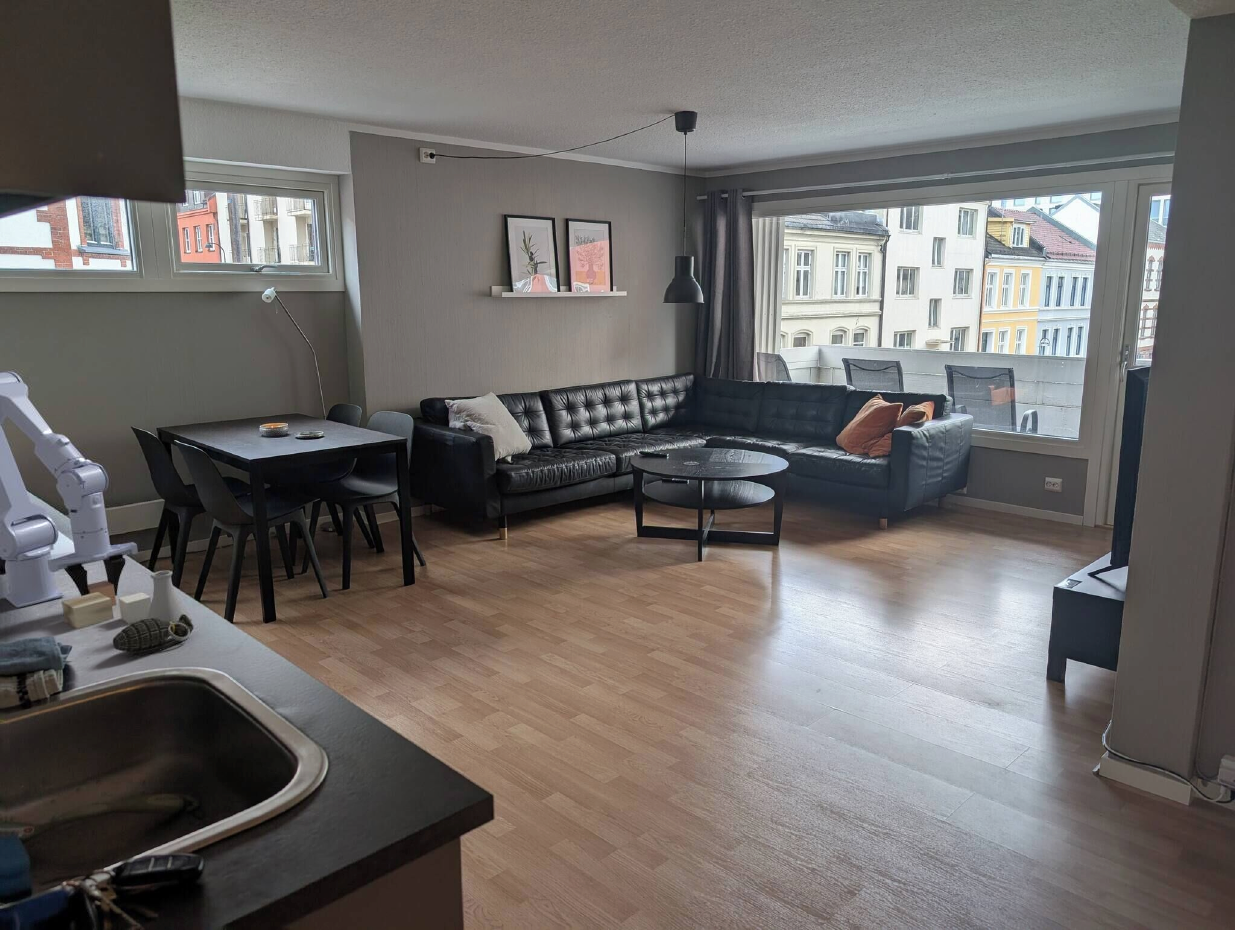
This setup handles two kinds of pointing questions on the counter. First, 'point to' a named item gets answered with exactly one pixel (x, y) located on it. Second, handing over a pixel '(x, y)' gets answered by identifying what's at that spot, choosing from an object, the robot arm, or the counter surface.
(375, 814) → the counter surface
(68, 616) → the beech block
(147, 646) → the grenade
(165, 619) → the flask
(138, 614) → the cream cube
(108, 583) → the brown cube
